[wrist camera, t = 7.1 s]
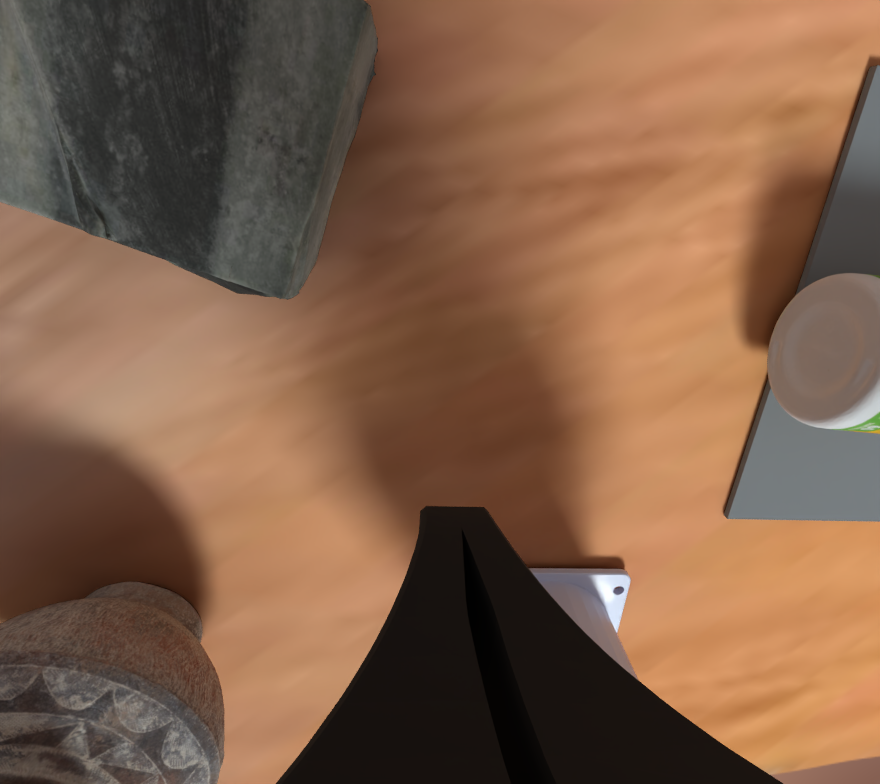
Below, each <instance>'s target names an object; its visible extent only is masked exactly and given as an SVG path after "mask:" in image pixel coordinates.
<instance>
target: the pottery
mask: <svg viewBox="0 0 880 784" xmlns="http://www.w3.org/2000/svg"><path fill="white" fill-rule="evenodd" d="M201 638H202V623H201V619H200V617H199V615H198V613H197V612H196V610H195V609H194V608H193V607H192V606H191V604H190V603H188V602H187V601H186V600H185V599H183V598H182V597H181V596H180V595H178V594H177V593H175V592H172V591H170V590H167V589H165V588H162V587H158V586H155V585H151V584H146V583H141V582H121V583H117V584H112V585H108V586H105V587H102V588H100V589H97V590H96V591H94V592H93V593H91V594H90V595H88V596H87V597H86V598H84V599H78V600H70V601H65V602H60V603H56V604H51V605H48V606H45V607H41V608H38V609H35V610H32V611H29V612H26V613H24V614H21V615H18V616H16V617H14V618H12V619H9V620H7V621H5V622H3V623H1V624H0V784H217V782H218V777H219V772H220V768H221V766H222V763H223V759H224V704H223V696H222V690H221V686H220V682H219V678H218V675H217V673H216V670H215V668H214V666H213V664H212V662H211V661H210V659H209V657H208V655H207V654H206V652H205V650H204V648H203V647H202V645H201V644H200V643H201Z"/></svg>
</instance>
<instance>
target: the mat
mask: <svg viewBox="0 0 880 784" xmlns="http://www.w3.org/2000/svg"><path fill="white" fill-rule="evenodd" d="M843 273H858V274H870V275H878V276H880V66H879V65H877V66H873V67H870V68H869V72H868V75H867V78H866V81H865V84H864V87H863V90H862V93H861V96H860V99H859V102H858V105H857V108H856V111H855V114H854V118H853V121H852V124H851V127H850V130H849V133H848V136H847V139H846V142H845V145H844V148H843V151H842V154H841V157H840V160H839V163H838V167H837V170H836V173H835V176H834V179H833V182H832V185H831V188H830V191H829V194H828V197H827V200H826V203H825V206H824V209H823V213H822V216H821V219H820V222H819V225H818V228H817V231H816V234H815V237H814V240H813V243H812V246H811V249H810V252H809V255H808V258H807V262H806V265H805V268H804V271H803V274H802V277H801V280H800V283H799V286H798V289H797V292H796V295H797V294H798V293H799V292H800V291H801V290H803V289H804V288H805V287H807V286H808V285H810V284H812V283H813V282H815V281H817V280H820V279H822V278H825V277H828V276H831V275H835V274H843ZM796 295H795V296H796ZM724 516H725V517H726V518H727V519H764V520H822V521H880V434H877V433H865V432H854V431H844V430H832V429H825V428H817V427H813V426H809V425H807V424H804V423H802V422H800V421H798V420H796V419H795V418H793V417H792V416H791V415H789V414H788V413H787V412H786V411H785V410H784V409H783V408H782V406H781V405H780V404H779V403H778V401H777V399H776V398H775V396H774V394H773V392H772V389H771V386H770V382H769V378H768V381H767V384H766V387H765V390H764V393H763V396H762V399H761V403H760V406H759V409H758V412H757V415H756V418H755V421H754V424H753V427H752V430H751V433H750V436H749V439H748V442H747V445H746V448H745V452H744V455H743V458H742V461H741V464H740V467H739V470H738V473H737V476H736V479H735V482H734V485H733V488H732V491H731V494H730V498H729V501H728V504H727V507H726V510H725V513H724Z"/></svg>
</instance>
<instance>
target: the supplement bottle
mask: <svg viewBox="0 0 880 784" xmlns="http://www.w3.org/2000/svg"><path fill="white" fill-rule="evenodd" d="M767 369H768V377H769V382H770V386H771V389H772V392H773V394H774V396H775V398H776V399H777V401H778V403H779V404H780V405H781V406H782V408H783V409H784V410H785V411H786V412H787V413H788V414H789V415H791V416H792V417H793V418H795V419H796V420H798V421H800V422H802V423H804V424H807V425H809V426H813V427H817V428H825V429H832V430H844V431H854V432H865V433H877V434H880V276H878V275H870V274H858V273H843V274H835V275H831V276H828V277H825V278H822V279H820V280H817V281H815V282H813V283H812V284H810V285H808V286H807V287H805V288H804V289H803V290H801V291H800V292H799V293H798V294H797V295H796V296H795V297H794V298H793V299H792V300H791V301H790V302H789V304H788V305H787V306H786V308H785V309H784V311H783V312H782V314H781V315H780V317H779V319H778V321H777V323H776V325H775V328H774V330H773V333H772V336H771V340H770V344H769V349H768V358H767Z"/></svg>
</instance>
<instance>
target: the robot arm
mask: <svg viewBox="0 0 880 784" xmlns="http://www.w3.org/2000/svg"><path fill="white" fill-rule="evenodd" d="M629 585H630V577H629V575H628V573H627V571H625V570H623V569H575V568H528V567H527V566H526V564H525V563H524V562H523V561H522V559H521V558H520V557H519V555H518V554H517V553H516V551H515V550H514V549H513V547H512V546H511V544H510V543H509V542H508V540H507V539H506V537H505V536H504V535H503V533H502V532H501V530H500V529H499V527H498V526H497V524H496V523H495V521H494V520H493V518H492V517H491V515H490V514H489V512H488V511H487V510H486V509H485V508H484V507H439V506H426V507H425V508H423V509H422V510H421V511H420V526H419V535H418V539H417V543H416V547H415V550H414V553H413V556H412V559H411V562H410V565H409V568H408V571H407V574H406V576H405V579H404V581H403V584H402V586H401V588H400V591H399V593H398V595H397V598H396V600H395V602H394V605H393V607H392V609H391V611H390V613H389V615H388V617H387V619H386V621H385V623H384V625H383V627H382V629H381V631H380V633H379V635H378V637H377V639H376V640H375V642H374V644H373V646H372V648H371V650H370V651H369V653H368V655H367V656H366V658H365V660H364V661H363V663H362V665H361V666H360V668H359V670H358V671H357V673H356V675H355V676H354V678H353V680H352V681H351V683H350V684H349V686H348V687H347V689H346V690H345V692H344V694H343V695H342V697H341V698H340V699H339V701H338V702H337V704H336V705H335V707H334V708H333V709H332V711H331V712H330V714H329V715H328V716H327V718H326V719H325V721H324V722H323V723H322V725H321V726H320V727H319V729H318V730H317V732H316V733H315V734H314V736H313V737H312V739H311V740H310V741H309V743H308V744H307V746H306V747H305V748H304V749H303V751H302V752H301V753H300V755H299V756H298V757H297V759H296V760H295V761H294V762H293V763H292V765H291V766H290V767H289V768H288V769H287V771H286V772H285V773H284V774H283V776H282V777H281V778H280V779H279V780H278V782H277V783H276V784H783V783H782V782H780V781H778V780H776V779H775V778H774V777H772V776H771V775H769V774H768V773H766V772H764V771H763V770H761V769H760V768H758V767H757V766H755V765H754V764H752V763H750V762H749V761H747V760H746V759H744V758H743V757H741V756H740V755H738V754H736V753H735V752H733V751H732V750H730V749H729V748H727V747H726V746H724V745H723V744H721V743H720V742H719V741H717V740H716V739H714V738H713V737H712V736H710V735H709V734H707V733H706V732H705V731H703V730H702V729H701V728H699V727H698V726H696V725H695V724H694V723H692V722H691V721H689V720H688V719H687V718H685V717H684V716H683V715H681V714H680V713H679V712H677V711H676V710H675V709H673V708H672V707H671V706H669V705H668V704H667V703H666V702H664V701H663V700H662V699H660V698H659V697H658V696H657V695H655V694H654V693H653V692H652V691H651V690H649V689H648V688H647V687H646V686H645V685H643V684H642V683H641V682H640V681H639V680H638V678H637V676H636V674H635V672H634V669H633V667H632V665H631V663H630V661H629V659H628V657H627V654H626V652H625V650H624V648H623V646H622V644H621V641H620V639H619V637H618V635H617V632H618V628H619V624H620V620H621V616H622V612H623V608H624V605H625V601H626V597H627V593H628V589H629ZM618 586H620V587H618ZM616 587H618V588H616ZM614 588H616V589H614Z"/></svg>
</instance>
